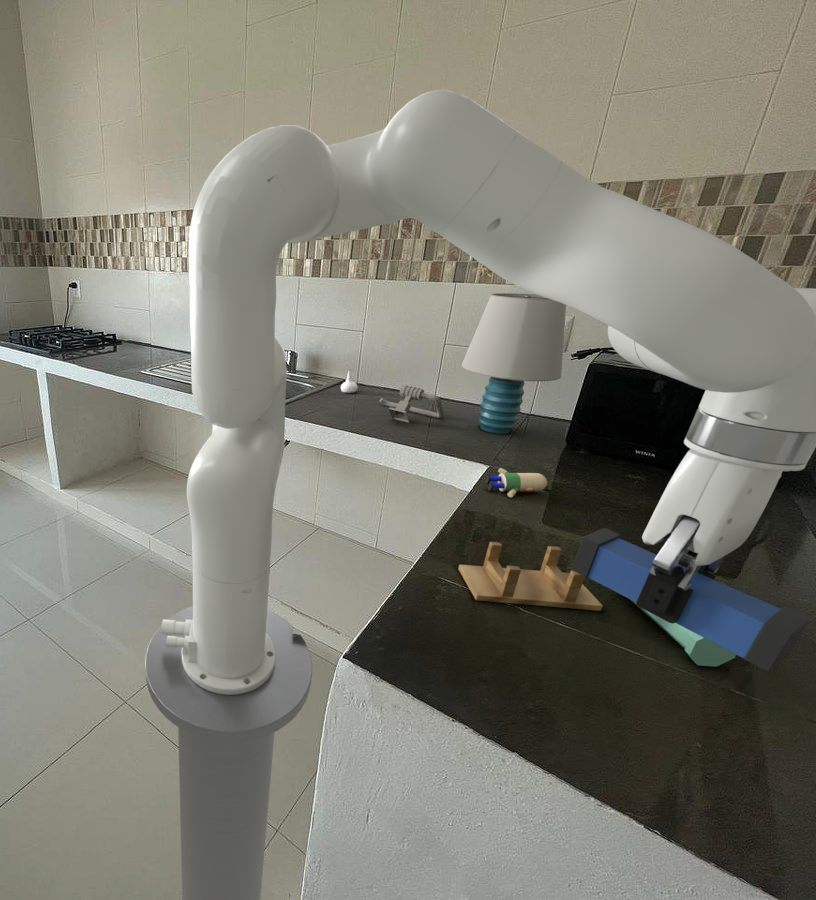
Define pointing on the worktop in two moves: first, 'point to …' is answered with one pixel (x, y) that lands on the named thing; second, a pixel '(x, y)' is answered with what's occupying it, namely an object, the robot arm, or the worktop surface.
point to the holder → (528, 583)
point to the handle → (697, 602)
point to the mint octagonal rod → (694, 643)
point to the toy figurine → (517, 482)
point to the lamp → (515, 353)
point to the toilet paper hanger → (404, 406)
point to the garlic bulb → (349, 385)
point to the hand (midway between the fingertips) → (667, 605)
